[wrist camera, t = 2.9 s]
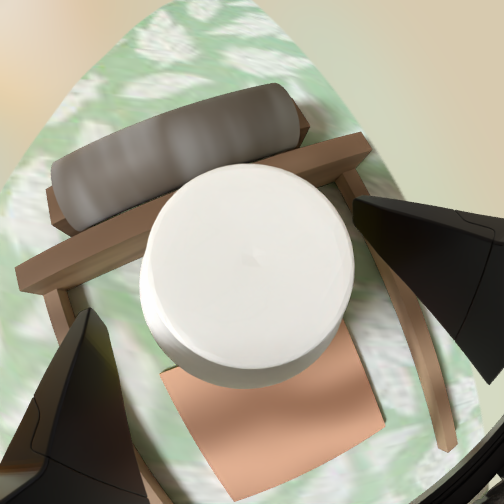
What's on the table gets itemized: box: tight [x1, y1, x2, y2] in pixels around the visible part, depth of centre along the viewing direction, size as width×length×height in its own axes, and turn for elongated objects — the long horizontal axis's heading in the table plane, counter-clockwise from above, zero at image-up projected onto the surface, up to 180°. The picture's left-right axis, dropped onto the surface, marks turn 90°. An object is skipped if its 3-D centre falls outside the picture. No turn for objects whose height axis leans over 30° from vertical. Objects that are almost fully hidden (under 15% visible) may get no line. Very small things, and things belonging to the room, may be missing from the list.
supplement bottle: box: [139, 164, 355, 389], centre depth 10 cm, size 6×6×10 cm
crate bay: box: [15, 83, 458, 504], centre depth 12 cm, size 25×19×5 cm
